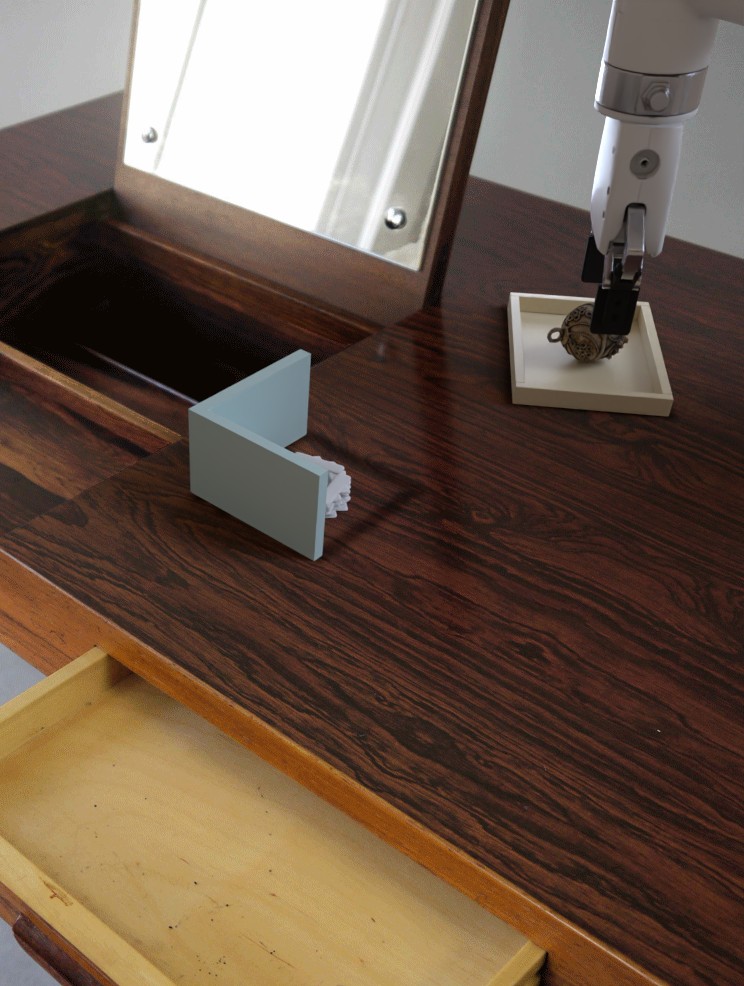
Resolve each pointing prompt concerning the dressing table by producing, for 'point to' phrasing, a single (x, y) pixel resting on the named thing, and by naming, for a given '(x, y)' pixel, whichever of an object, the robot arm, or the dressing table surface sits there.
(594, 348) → the pendant
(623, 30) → the robot arm
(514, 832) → the dressing table surface
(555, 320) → the cream shallow tray
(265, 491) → the l-shaped corner panel
